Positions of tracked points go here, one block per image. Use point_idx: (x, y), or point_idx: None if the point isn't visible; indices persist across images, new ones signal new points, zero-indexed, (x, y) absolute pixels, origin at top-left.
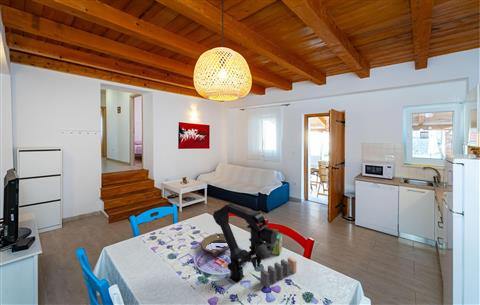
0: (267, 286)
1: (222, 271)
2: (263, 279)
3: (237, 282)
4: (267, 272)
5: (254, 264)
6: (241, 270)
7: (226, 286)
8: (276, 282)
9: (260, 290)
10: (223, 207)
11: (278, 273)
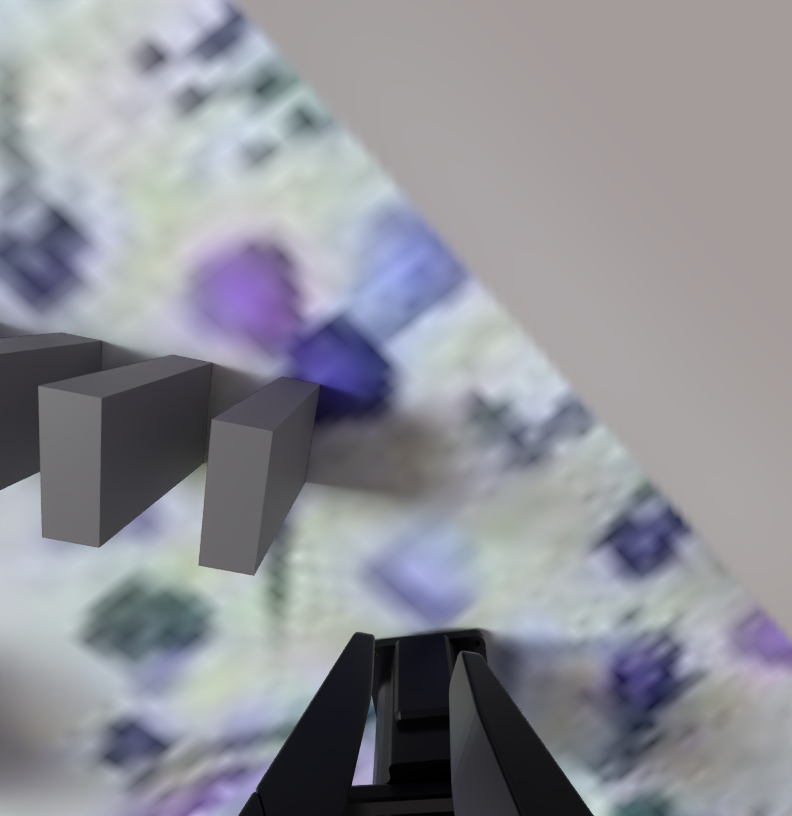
0: (308, 384)
1: None
2: (295, 461)
3: (481, 633)
4: (215, 459)
5: (575, 801)
6: (414, 730)
7: (580, 665)
8: (171, 355)
9: (399, 410)
10: None
11: None
